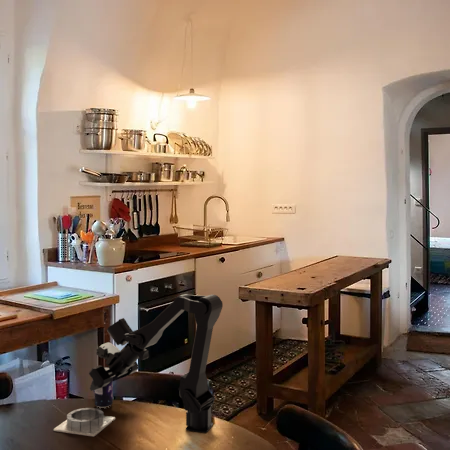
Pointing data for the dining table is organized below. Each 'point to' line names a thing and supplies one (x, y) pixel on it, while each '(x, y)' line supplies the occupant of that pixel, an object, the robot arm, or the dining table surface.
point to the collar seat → (85, 422)
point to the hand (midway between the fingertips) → (100, 385)
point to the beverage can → (104, 394)
